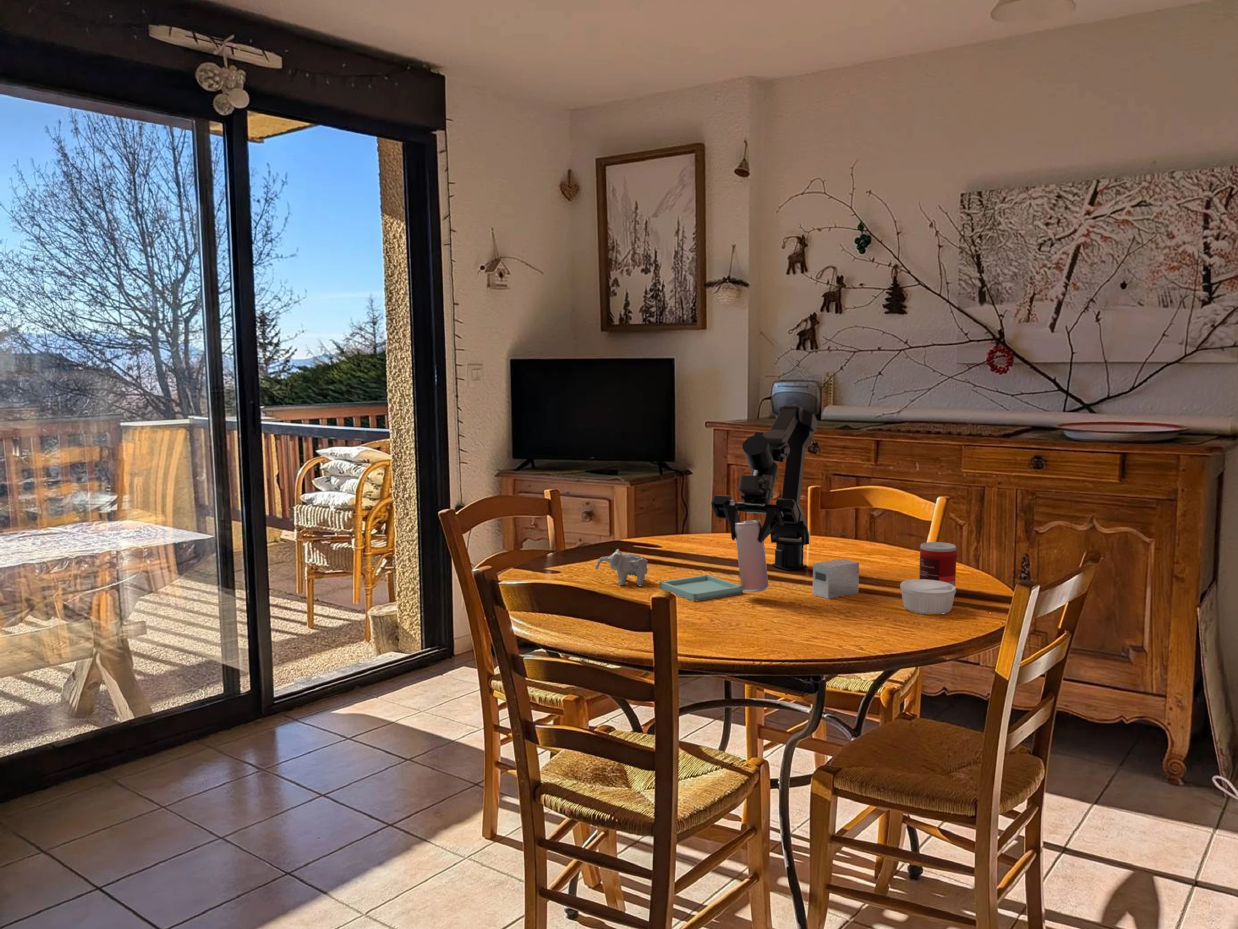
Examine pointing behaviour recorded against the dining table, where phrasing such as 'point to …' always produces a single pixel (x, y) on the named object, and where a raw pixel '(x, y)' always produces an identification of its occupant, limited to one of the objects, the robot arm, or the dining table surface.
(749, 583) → the beverage can
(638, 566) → the gray elephant figurine
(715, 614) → the dining table surface
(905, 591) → the ramekin
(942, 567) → the canned food
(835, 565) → the block
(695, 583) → the tray
